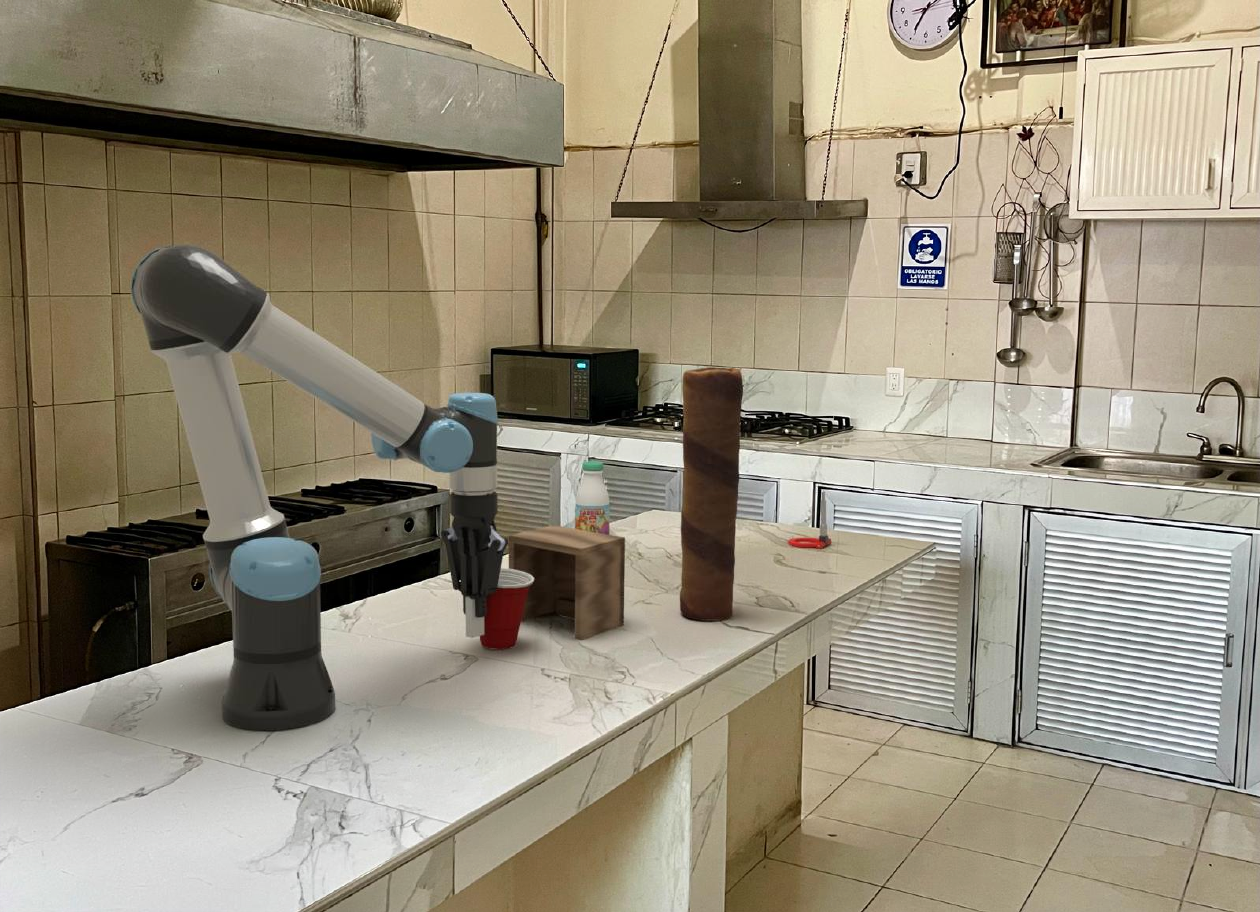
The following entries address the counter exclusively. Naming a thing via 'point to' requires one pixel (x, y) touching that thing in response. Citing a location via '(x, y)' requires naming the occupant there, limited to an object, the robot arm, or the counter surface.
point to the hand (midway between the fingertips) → (475, 635)
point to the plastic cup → (505, 609)
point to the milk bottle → (592, 501)
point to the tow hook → (823, 537)
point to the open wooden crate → (572, 576)
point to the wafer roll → (709, 490)
